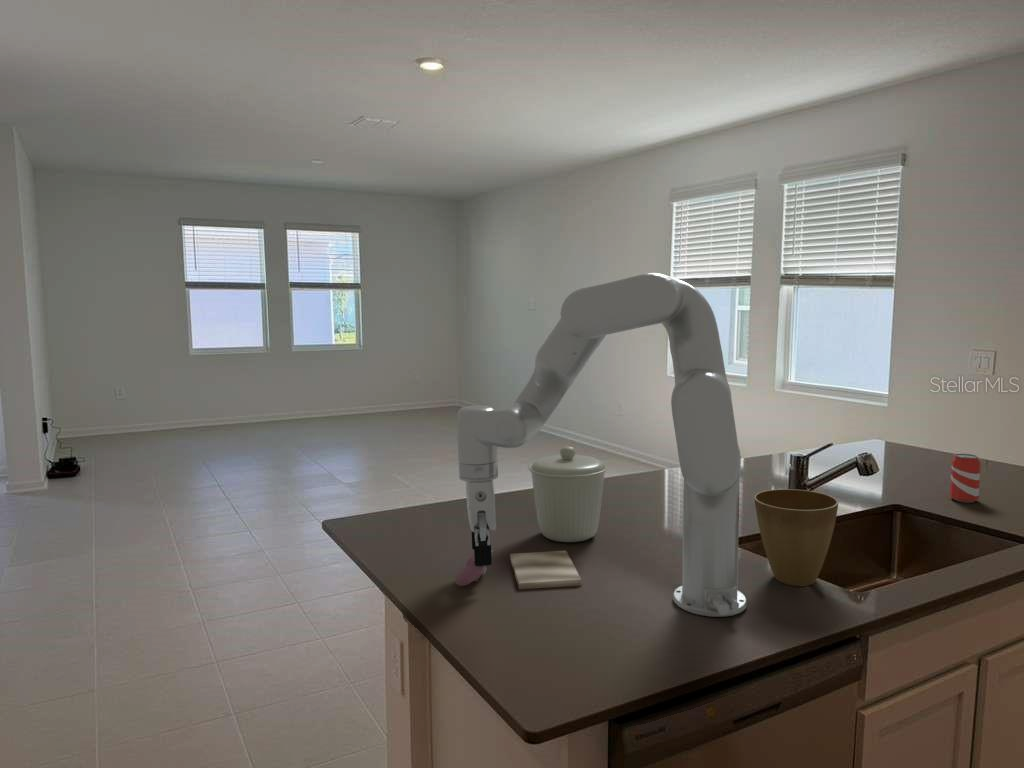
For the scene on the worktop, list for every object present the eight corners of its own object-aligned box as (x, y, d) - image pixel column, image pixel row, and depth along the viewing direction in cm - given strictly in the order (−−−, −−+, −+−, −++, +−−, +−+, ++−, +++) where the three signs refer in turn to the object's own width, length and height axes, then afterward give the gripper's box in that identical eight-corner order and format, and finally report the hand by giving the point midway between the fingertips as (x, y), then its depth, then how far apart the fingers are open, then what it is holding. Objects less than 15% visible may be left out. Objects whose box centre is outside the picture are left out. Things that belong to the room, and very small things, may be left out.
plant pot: (812, 563, 144) (815, 486, 142) (850, 593, 129) (854, 508, 128) (741, 565, 144) (742, 489, 142) (771, 596, 129) (773, 510, 127)
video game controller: (473, 595, 134) (488, 564, 133) (452, 584, 135) (467, 553, 134) (485, 576, 144) (499, 546, 143) (465, 565, 144) (479, 536, 143)
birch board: (581, 585, 135) (581, 579, 135) (519, 589, 134) (519, 583, 134) (566, 555, 151) (565, 550, 151) (510, 559, 150) (510, 553, 149)
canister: (543, 553, 153) (542, 457, 151) (520, 527, 170) (518, 442, 168) (620, 544, 158) (620, 451, 155) (590, 520, 175) (589, 436, 173)
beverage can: (977, 504, 182) (979, 459, 181) (948, 501, 186) (950, 456, 184) (979, 499, 187) (981, 454, 185) (950, 495, 191) (953, 452, 189)
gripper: (501, 479, 128) (505, 571, 130) (493, 459, 145) (496, 541, 147) (460, 482, 127) (464, 574, 129) (457, 461, 145) (460, 543, 147)
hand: (481, 556), depth 138 cm, fingers closed on video game controller, 8 cm apart
